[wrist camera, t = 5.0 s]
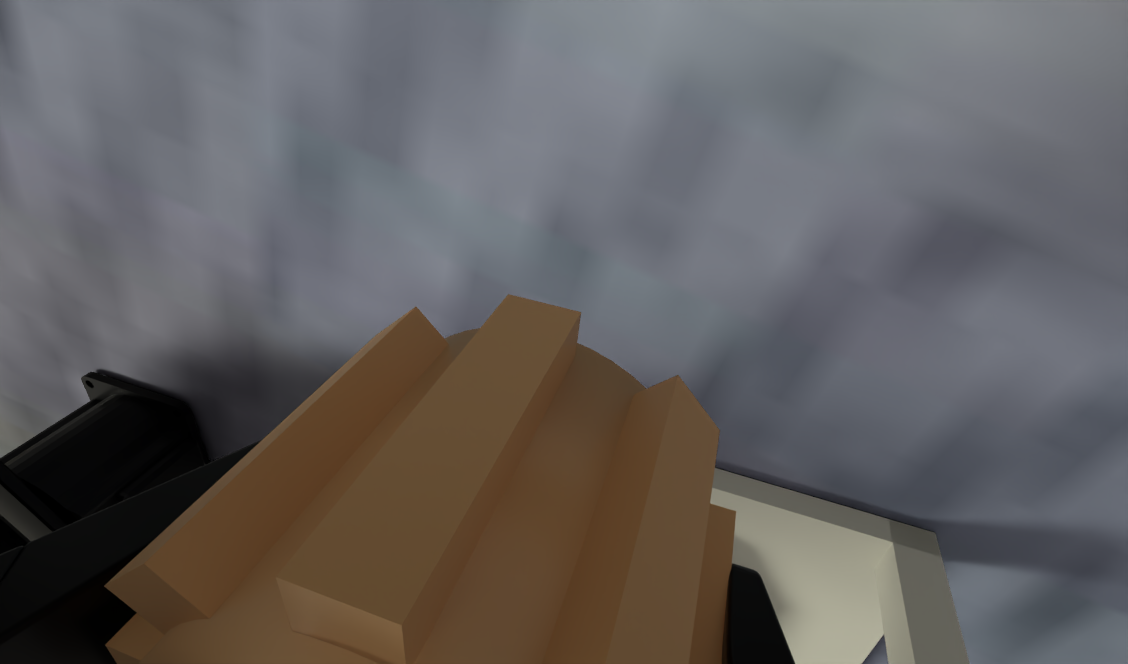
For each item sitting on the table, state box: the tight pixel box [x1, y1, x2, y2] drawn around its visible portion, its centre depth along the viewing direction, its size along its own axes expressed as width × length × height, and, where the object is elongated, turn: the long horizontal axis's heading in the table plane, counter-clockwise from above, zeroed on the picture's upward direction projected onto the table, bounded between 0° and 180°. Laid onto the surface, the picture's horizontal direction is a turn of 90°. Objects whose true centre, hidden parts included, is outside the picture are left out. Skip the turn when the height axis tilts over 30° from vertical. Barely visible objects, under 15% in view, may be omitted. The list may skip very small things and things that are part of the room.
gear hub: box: [104, 294, 736, 664], centre depth 8 cm, size 6×6×5 cm
